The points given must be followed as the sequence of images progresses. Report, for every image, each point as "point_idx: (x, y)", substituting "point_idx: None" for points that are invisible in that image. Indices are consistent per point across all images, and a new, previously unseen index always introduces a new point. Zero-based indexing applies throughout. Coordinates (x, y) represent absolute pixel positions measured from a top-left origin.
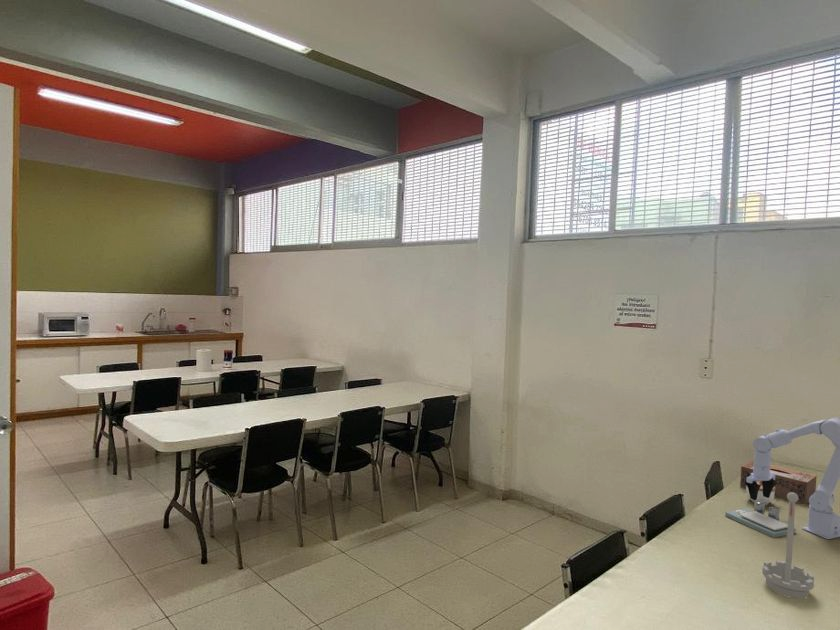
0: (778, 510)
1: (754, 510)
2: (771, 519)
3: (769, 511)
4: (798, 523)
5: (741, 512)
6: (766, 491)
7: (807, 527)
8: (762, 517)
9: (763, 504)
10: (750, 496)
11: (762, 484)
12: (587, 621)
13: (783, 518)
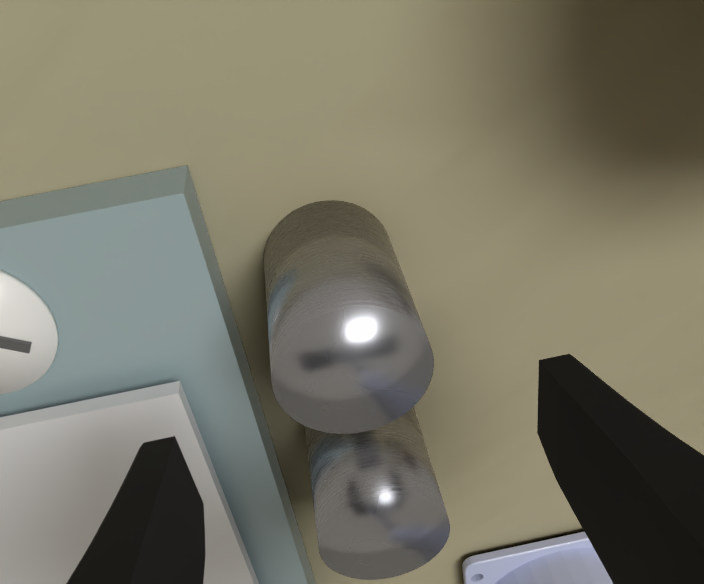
0: (387, 574)
1: (269, 271)
2: None
3: (316, 495)
4: None
5: None
6: (596, 499)
7: (518, 563)
8: None
9: (353, 432)
10: (131, 479)
11: (691, 543)
12: None
13: (534, 373)
